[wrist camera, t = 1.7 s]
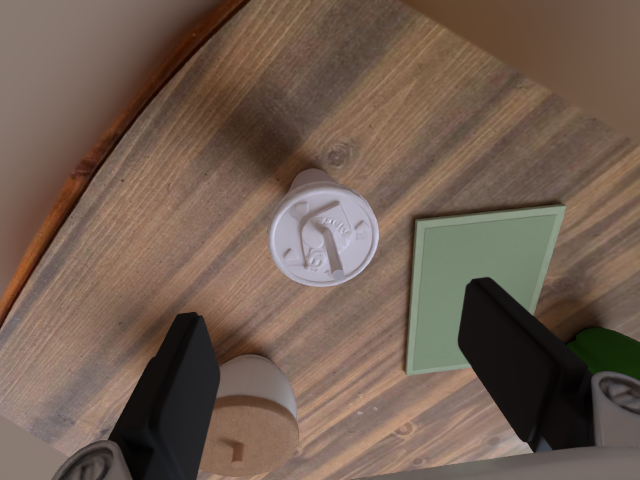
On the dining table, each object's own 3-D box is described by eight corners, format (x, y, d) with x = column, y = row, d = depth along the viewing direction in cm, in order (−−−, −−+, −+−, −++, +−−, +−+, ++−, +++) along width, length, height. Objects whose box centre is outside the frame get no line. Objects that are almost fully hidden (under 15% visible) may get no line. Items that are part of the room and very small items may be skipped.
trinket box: (200, 402, 36) (172, 497, 28) (202, 333, 31) (170, 422, 23) (290, 407, 38) (289, 497, 29) (304, 342, 33) (309, 427, 25)
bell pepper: (543, 336, 36) (626, 418, 27) (613, 306, 35) (725, 380, 26) (554, 377, 39) (631, 461, 31) (619, 351, 38) (719, 430, 29)
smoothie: (362, 167, 25) (432, 243, 13) (333, 233, 28) (369, 352, 15) (288, 139, 24) (285, 195, 11) (265, 212, 26) (241, 324, 14)
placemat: (415, 219, 28) (417, 221, 27) (562, 203, 28) (567, 205, 28) (404, 372, 37) (406, 376, 36) (517, 358, 37) (520, 361, 37)
